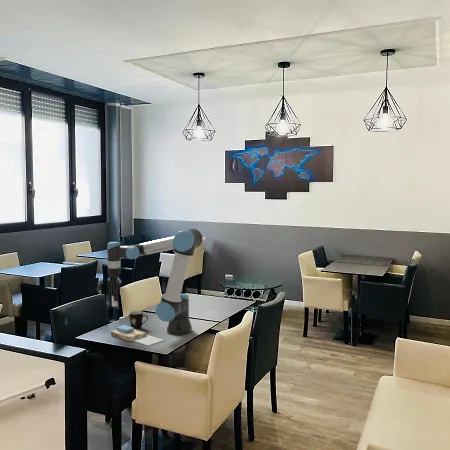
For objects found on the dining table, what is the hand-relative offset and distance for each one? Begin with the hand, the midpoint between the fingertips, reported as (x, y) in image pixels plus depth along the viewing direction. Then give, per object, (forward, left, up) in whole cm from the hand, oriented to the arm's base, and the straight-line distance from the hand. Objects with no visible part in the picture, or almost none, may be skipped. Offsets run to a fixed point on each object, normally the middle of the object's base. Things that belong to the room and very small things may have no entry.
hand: (114, 306), depth 270 cm
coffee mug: (-13, +5, -16) cm, 21 cm away
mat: (-2, +29, -16) cm, 33 cm away
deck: (0, +13, -16) cm, 21 cm away
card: (0, +10, -13) cm, 17 cm away
